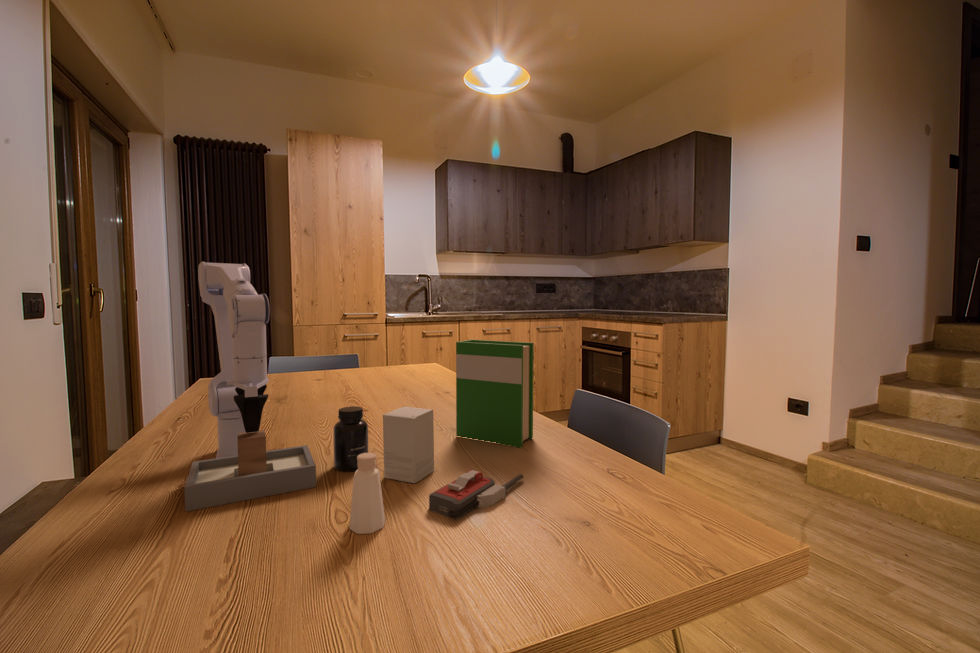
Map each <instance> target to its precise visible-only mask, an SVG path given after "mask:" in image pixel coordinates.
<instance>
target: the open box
mask: <svg viewBox="0 0 980 653" xmlns="http://www.w3.org/2000/svg"><path fill="white" fill-rule="evenodd" d="M266 463H267V472H263V473H257V474H251V475H245V476H239V473H238V455H236V456H229V457H222V458H216V457H215V458H210V459H202V460H196V461H192V464H191V467H190V469H189V473H188V476H187V479H186V482H185V484H184V508H185V509H184V510H185V512H191V511H196V510H202V509H206V508H211V507H217V506H222V505H223V506H224V505H227V504H228V505H229V504H233V503H237V502H238V503H239V502H243V501H249V500H253V499H259V498H264V497H265V498H266V497H269V496H270V497H271V496H275V495H281V494H285V493H290V492H296V491H301V490H302V491H303V490H307V489H311V488H313V489H314V488H316V487H317V467H316V466H317V465H316V462H315V460H314V458H313V455H312V453H311V450H310V448H309V446H308V444H306V445H304V444H303V445H299V446H290V447H284V448H278V449H272V450H266Z"/></svg>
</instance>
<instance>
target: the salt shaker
mask: <svg viewBox="0 0 980 653" xmlns="http://www.w3.org/2000/svg"><path fill="white" fill-rule="evenodd" d="M376 458H377V454H375V453H374V452H368V453H362V454H360V455H358V456H357V461H358V463H357V466H358V470H355V471H354V474H353V480H352V493H351V505H350V516H349V527H348V528H349V530H350V531H352V532H354V533H355V534H357V535H367V534H373V533H375V532H377V531H380V530H381V529H383V528H384V525H385V523H386V517H385V515H386V514H385V508H384V507H385V506H384V500H383V498H384V497H383V493H382V492H383V491H382V485H381V484H382V483H381V476H380V470H379V469H378V468H376Z"/></svg>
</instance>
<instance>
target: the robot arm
mask: <svg viewBox="0 0 980 653" xmlns="http://www.w3.org/2000/svg"><path fill="white" fill-rule="evenodd" d="M197 268H198V270H197V271H198V272H197V273H198V274H197V276H198V278H197V279H198V280H197V281H198V286H199V294H200V297H201V302H203V303H205V304H207V305H208V306H210V307H211V310H212V313H213V316H214V323H215V332H216V341H217V342H216V343H217V350H218V355H219V356H218V358H219V365H220V372H219V373H217V375H215V376H214V377H213V378H211V379H210V381H209V382H208V388H207V389H208V396H207V397H208V399H207V401H208V408H209V413H210V415H212V416H213V417H216V419H217V420H216V421H217V443H218V445H217V446H218V447H217V452H216V457H215V458H222V457H229V456H236V455H238V444H237V438H238V433H243V432H246V433H250V432H258V431H259V430H260V426H261V421H262V416H263V415H262V414H263V411H264V410H263V409H264V407H265V404H266V402H267V401H268V399H269V394H268V393H267V394H265V391H266V390H267V386H268V385H267V384H268V383H269V381H270V380H269V378H268V361H267V360H268V358H267V356H268V354H267V324H268V323H269V321H270V312H271V309H270V301H269V297H268V296H267V294H266V293H260V294H258V292H257V290H256V288H255V287H254V286H253V284H251V270H250V267H249V266H248V265H247V263H224V262H205V261H201V262H200V263H199V264H198V267H197Z"/></svg>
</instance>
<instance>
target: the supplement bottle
mask: <svg viewBox="0 0 980 653" xmlns="http://www.w3.org/2000/svg"><path fill="white" fill-rule="evenodd" d="M363 410H364V408H363V407H361V406H355V405H353V406H345V407H341V408H339V409H338V416H337V419H338V420H339V421H337V422H336V423H335V424H334V426H333V464H334V466H333V467H334V468H335V470H338V471H341V472H353V471H354V472H356V470H358V466H357V463H358V461H357V456H358V455H360V454H362V453H369V425H368V422H367V421H366V420H365V419H363V417H364V411H363Z"/></svg>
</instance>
